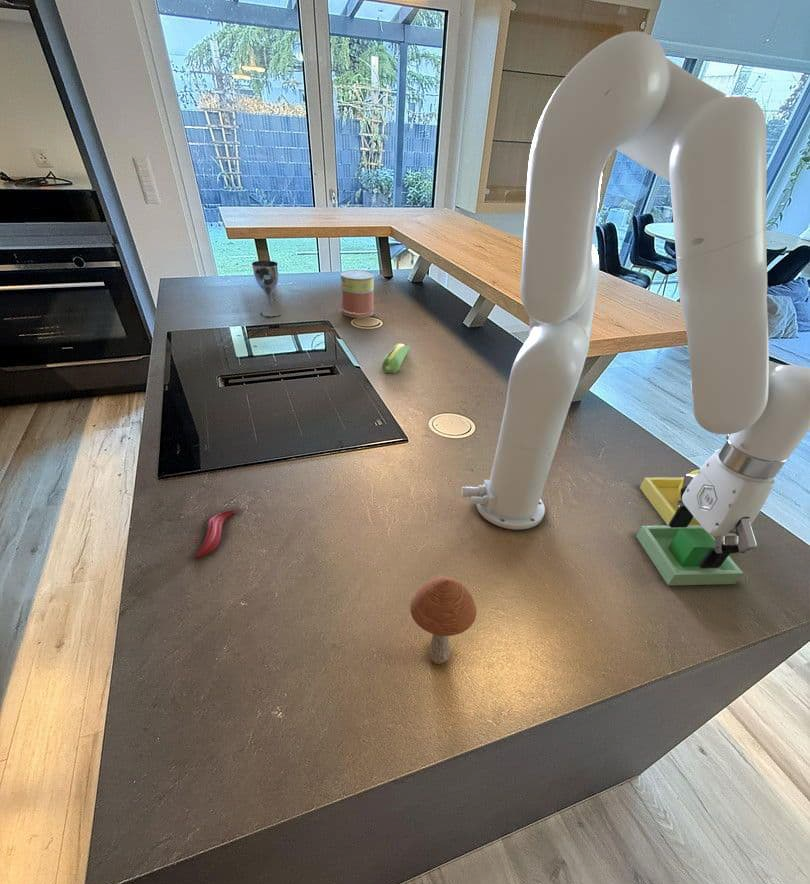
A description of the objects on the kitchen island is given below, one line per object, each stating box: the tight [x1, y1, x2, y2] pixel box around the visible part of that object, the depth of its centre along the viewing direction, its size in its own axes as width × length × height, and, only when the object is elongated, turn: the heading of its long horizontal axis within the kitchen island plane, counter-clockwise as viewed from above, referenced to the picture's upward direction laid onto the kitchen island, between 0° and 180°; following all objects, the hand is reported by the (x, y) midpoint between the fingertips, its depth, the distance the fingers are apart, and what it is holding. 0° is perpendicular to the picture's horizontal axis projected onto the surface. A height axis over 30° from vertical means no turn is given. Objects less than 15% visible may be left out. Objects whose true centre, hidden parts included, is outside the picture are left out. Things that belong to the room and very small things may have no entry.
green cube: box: [668, 528, 715, 567], centre depth 77 cm, size 4×4×4 cm
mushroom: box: [409, 575, 477, 665], centre depth 57 cm, size 8×8×15 cm
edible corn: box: [381, 342, 411, 374], centre depth 131 cm, size 5×20×5 cm, turn 167°
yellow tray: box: [639, 477, 700, 526], centre depth 89 cm, size 13×13×3 cm
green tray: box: [636, 525, 744, 586], centre depth 78 cm, size 12×12×3 cm
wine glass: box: [251, 260, 279, 308], centre depth 152 cm, size 8×8×15 cm
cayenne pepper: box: [194, 510, 236, 558], centre depth 76 cm, size 12×5×2 cm, turn 160°
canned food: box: [340, 269, 375, 319], centre depth 159 cm, size 11×11×12 cm
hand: (692, 545), depth 76 cm, fingers open, 9 cm apart
